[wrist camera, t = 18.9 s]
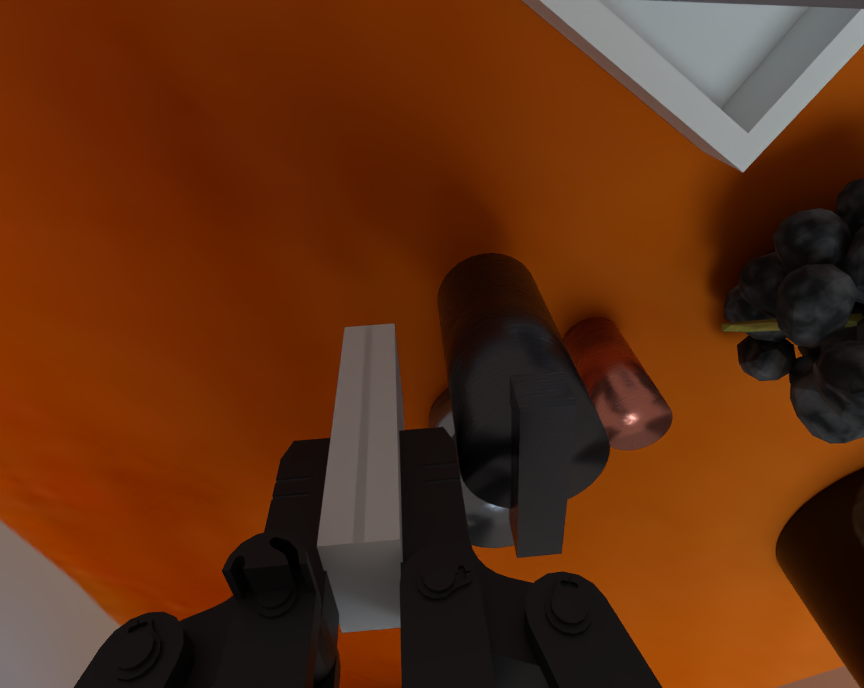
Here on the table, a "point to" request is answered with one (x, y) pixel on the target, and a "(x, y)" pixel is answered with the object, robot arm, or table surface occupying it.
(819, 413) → the fruit
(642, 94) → the tray
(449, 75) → the table surface
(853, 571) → the jar
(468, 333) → the crank
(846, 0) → the block
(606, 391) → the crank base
